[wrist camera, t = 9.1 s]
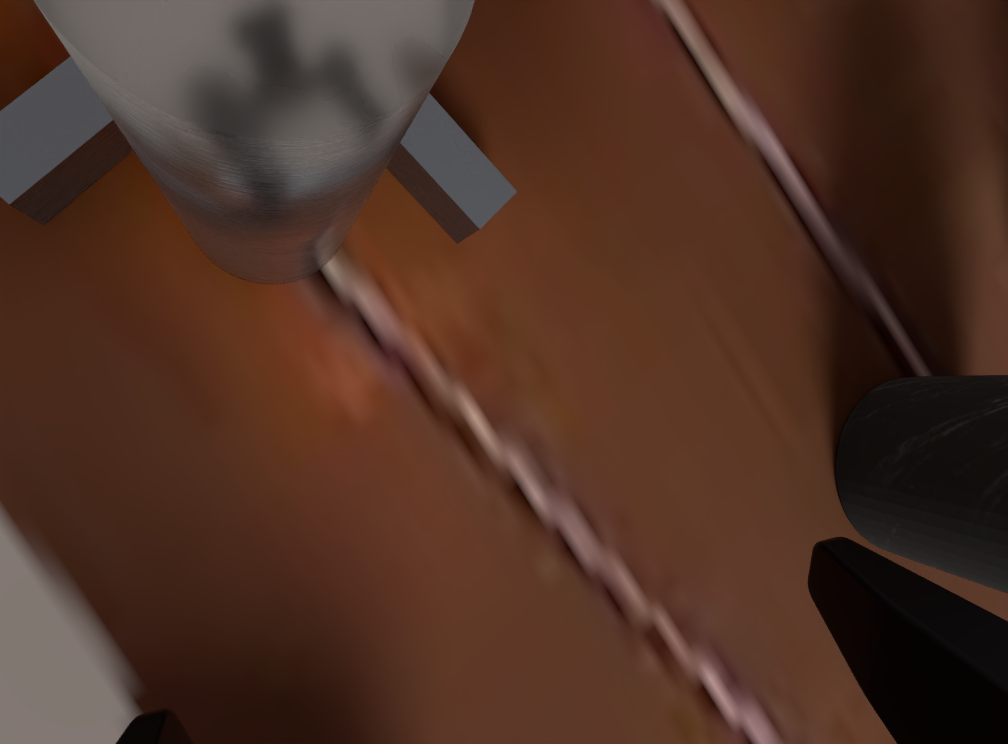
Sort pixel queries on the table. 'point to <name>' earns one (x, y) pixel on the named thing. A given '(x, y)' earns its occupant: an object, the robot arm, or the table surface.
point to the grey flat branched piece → (101, 145)
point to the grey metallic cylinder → (262, 109)
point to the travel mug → (932, 473)
